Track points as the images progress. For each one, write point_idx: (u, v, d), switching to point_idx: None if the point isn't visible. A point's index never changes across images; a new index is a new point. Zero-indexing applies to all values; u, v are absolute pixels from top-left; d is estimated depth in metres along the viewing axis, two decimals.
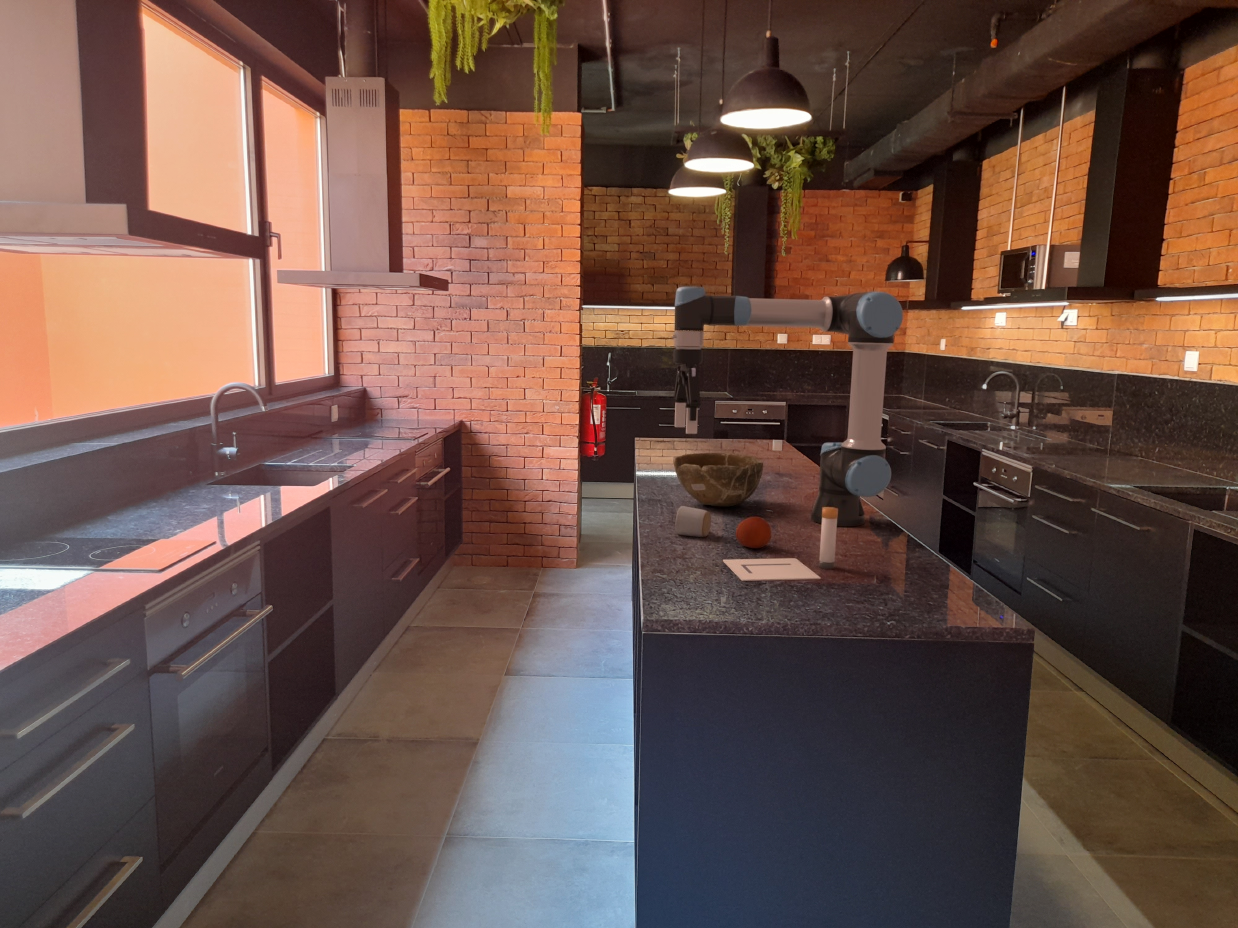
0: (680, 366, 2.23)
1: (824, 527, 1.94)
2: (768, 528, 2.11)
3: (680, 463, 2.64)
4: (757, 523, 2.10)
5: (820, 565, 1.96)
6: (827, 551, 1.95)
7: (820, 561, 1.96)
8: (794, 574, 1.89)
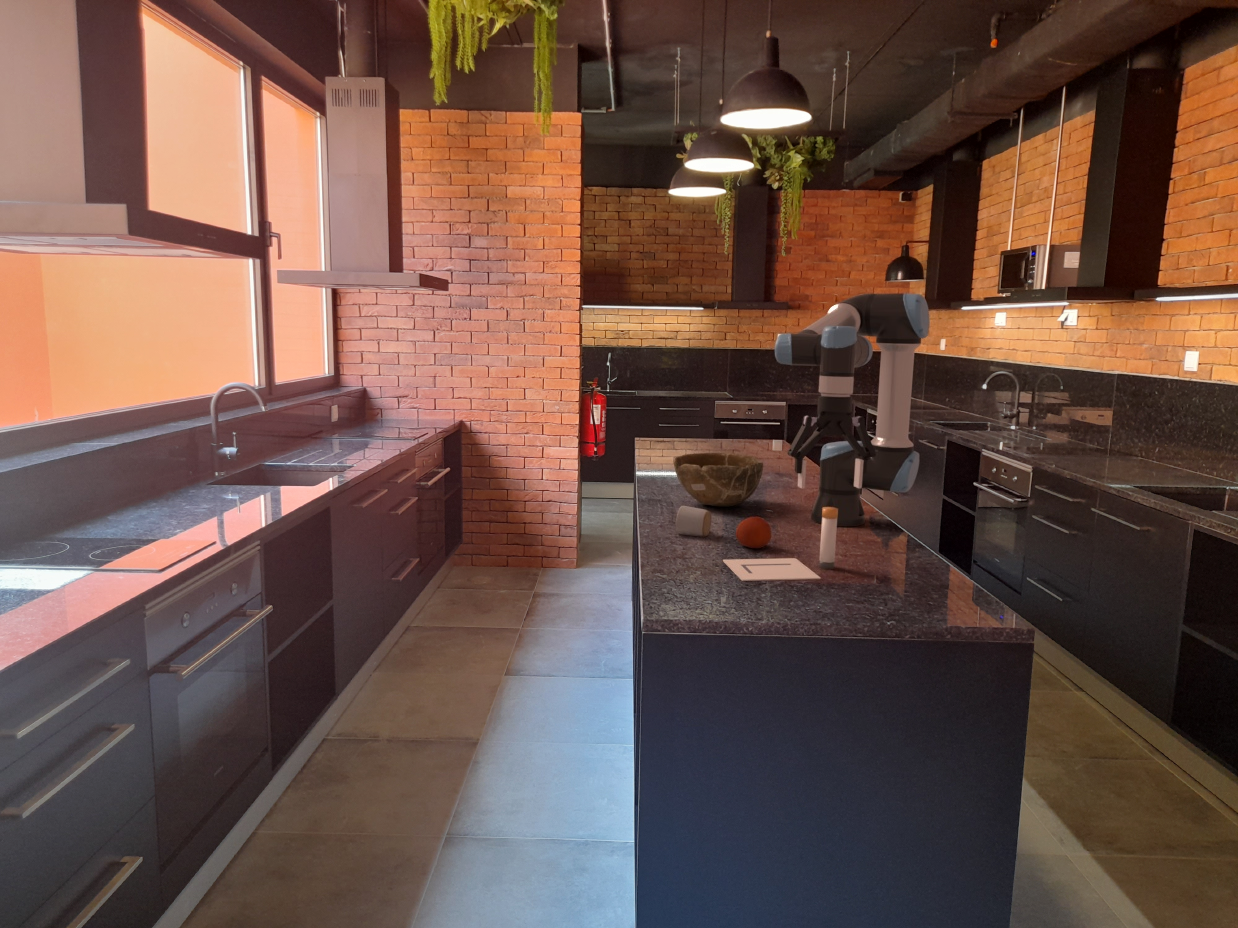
0: (857, 416, 1.93)
1: (825, 527, 1.94)
2: (768, 528, 2.11)
3: (680, 463, 2.64)
4: (757, 523, 2.10)
5: (820, 565, 1.96)
6: (827, 551, 1.95)
7: (820, 561, 1.96)
8: (794, 574, 1.89)
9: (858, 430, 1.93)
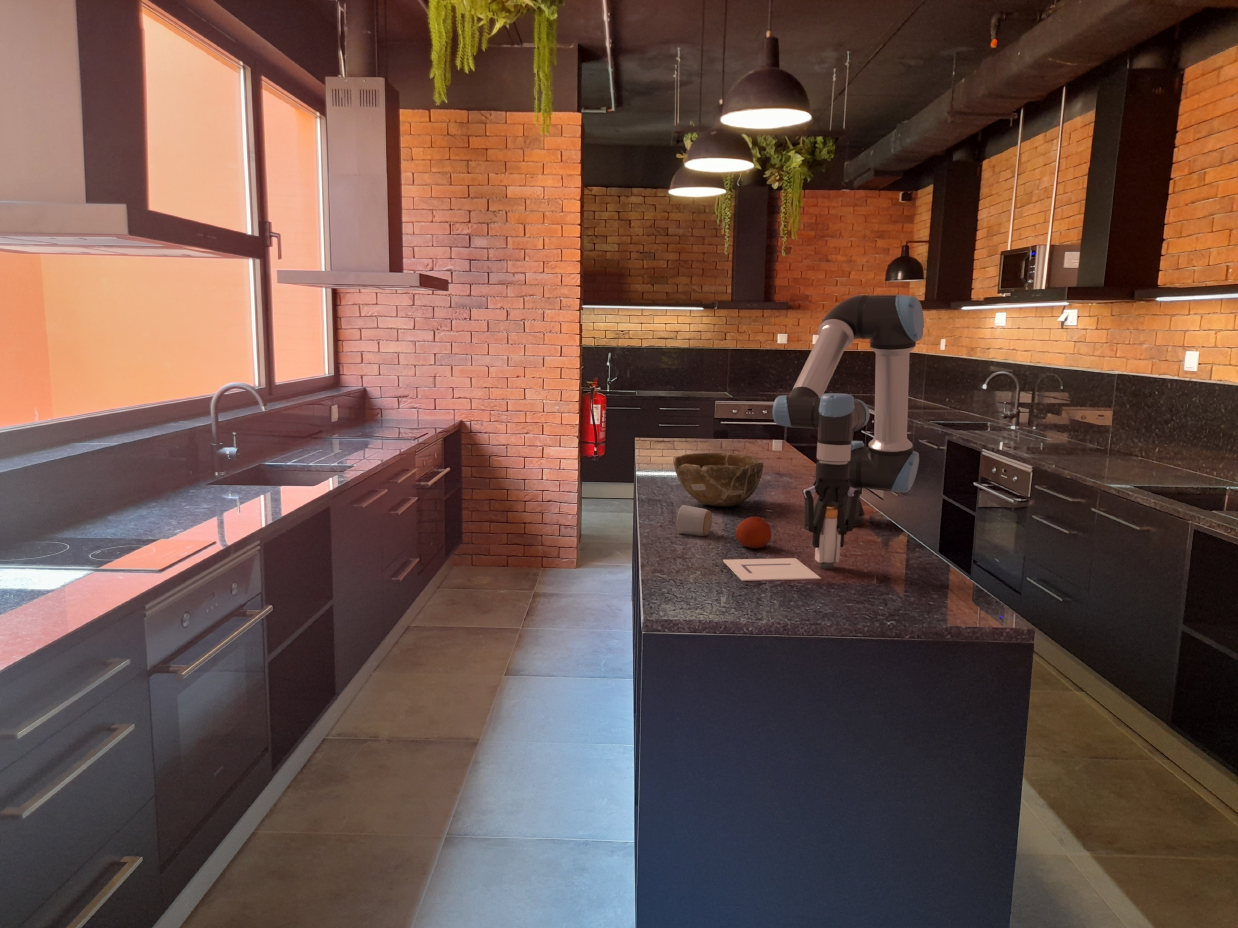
0: (854, 488, 1.95)
1: (824, 527, 1.94)
2: (768, 528, 2.11)
3: (680, 463, 2.64)
4: (757, 523, 2.10)
5: (820, 565, 1.96)
6: (827, 551, 1.95)
7: None
8: (794, 574, 1.89)
9: (849, 500, 1.95)
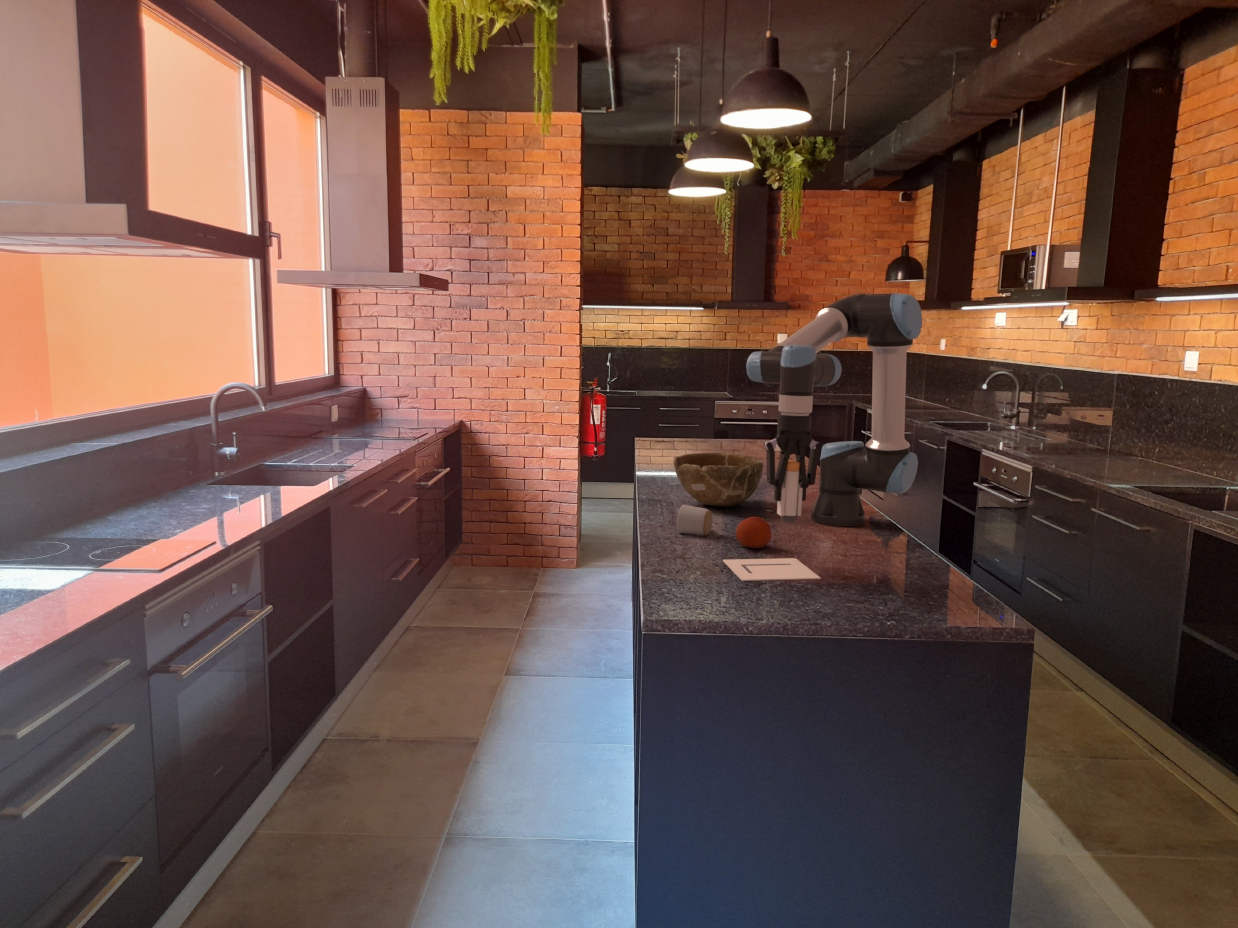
0: None
1: (786, 480, 1.93)
2: (768, 528, 2.11)
3: (680, 463, 2.64)
4: (757, 523, 2.10)
5: (782, 519, 1.95)
6: (789, 504, 1.93)
7: None
8: (794, 574, 1.89)
9: (811, 454, 1.94)
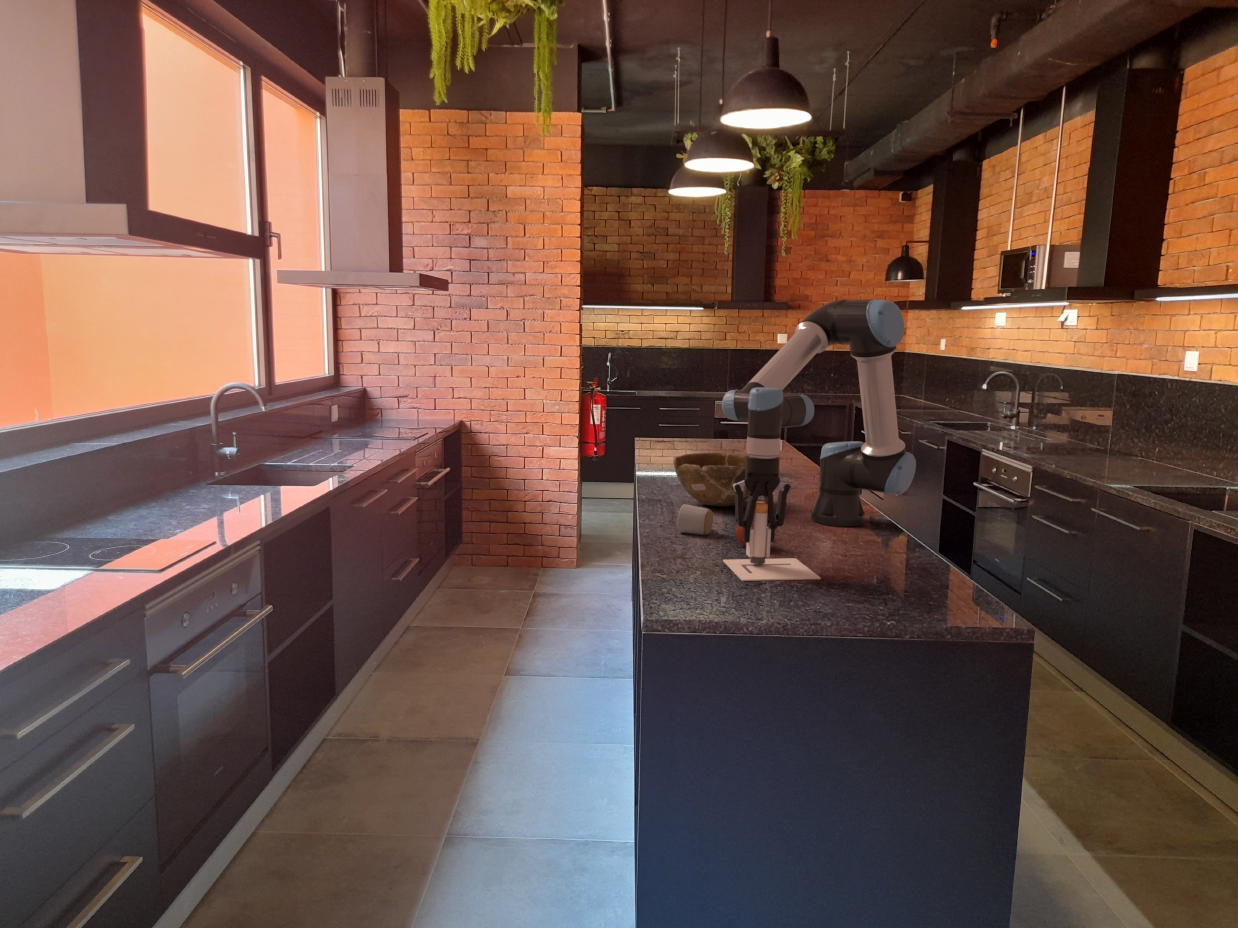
0: (784, 482, 1.95)
1: (755, 521, 1.93)
2: None
3: (680, 463, 2.64)
4: None
5: (751, 560, 1.95)
6: (757, 546, 1.94)
7: None
8: (794, 574, 1.89)
9: (780, 495, 1.94)
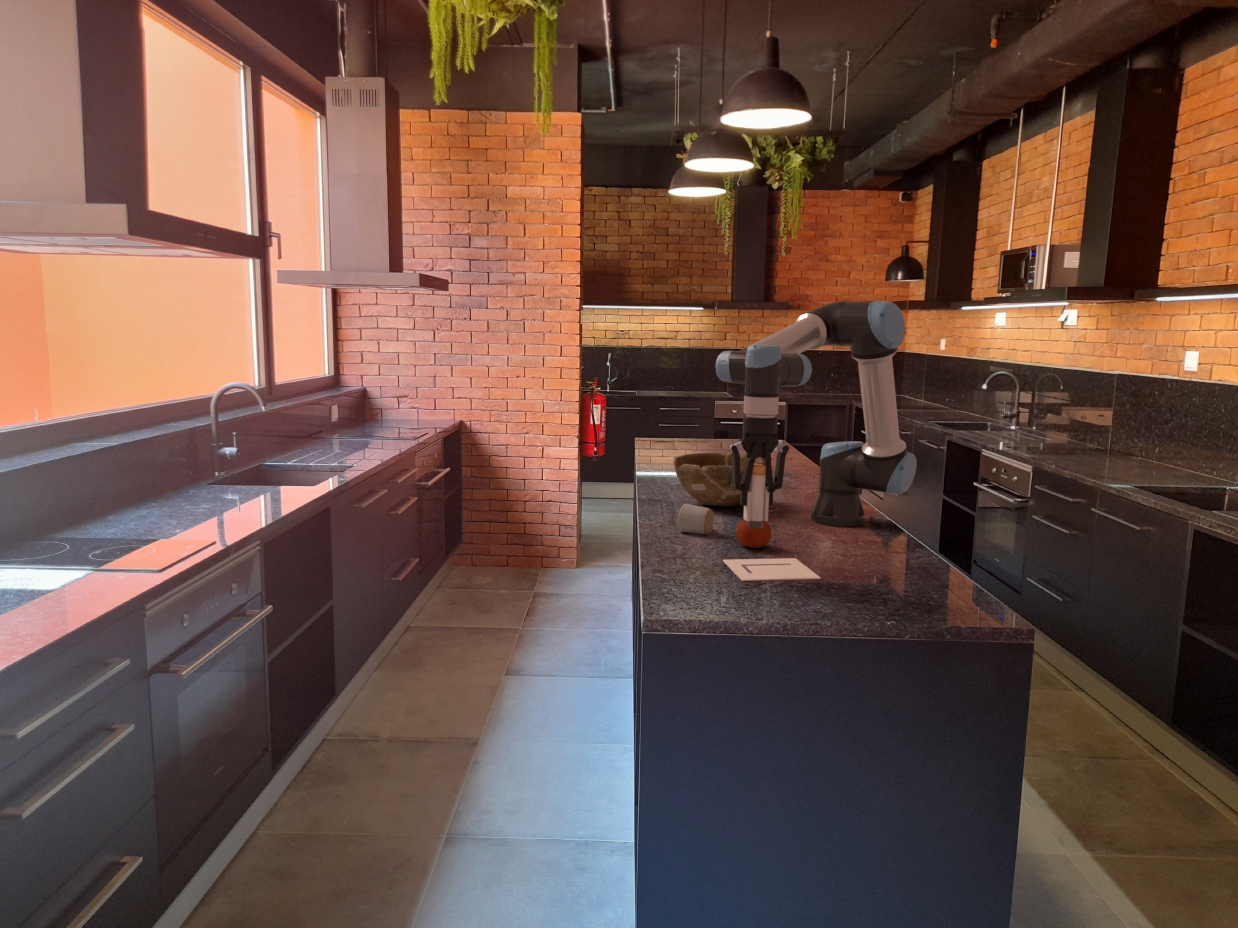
0: (783, 444, 1.88)
1: (752, 484, 1.87)
2: (768, 528, 2.11)
3: (680, 463, 2.64)
4: None
5: (748, 524, 1.89)
6: (755, 509, 1.87)
7: None
8: (794, 574, 1.89)
9: (778, 457, 1.87)
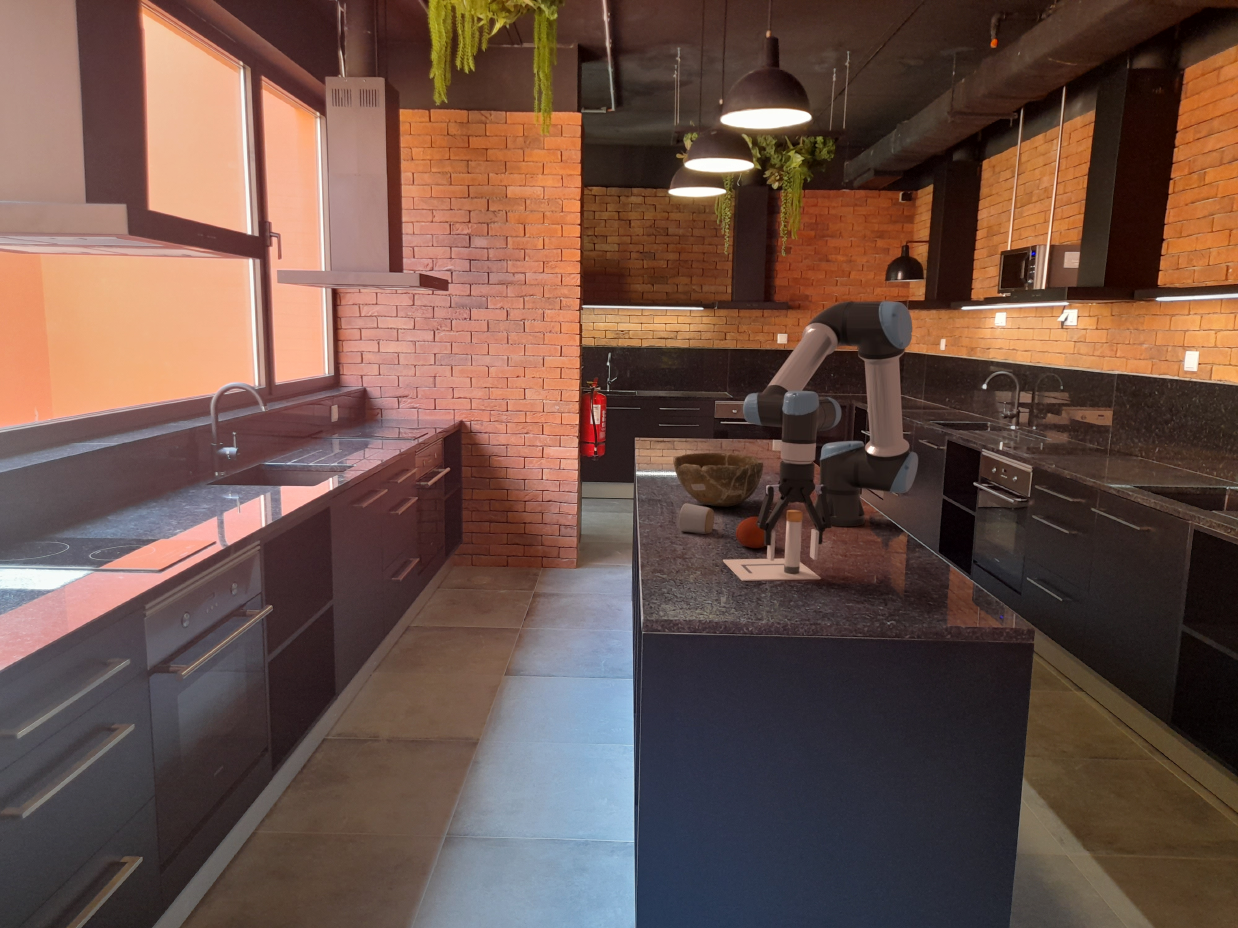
0: (820, 484, 1.90)
1: (789, 530, 1.89)
2: None
3: (680, 463, 2.64)
4: None
5: (785, 570, 1.91)
6: (792, 555, 1.89)
7: (785, 566, 1.91)
8: (794, 574, 1.89)
9: (819, 498, 1.89)
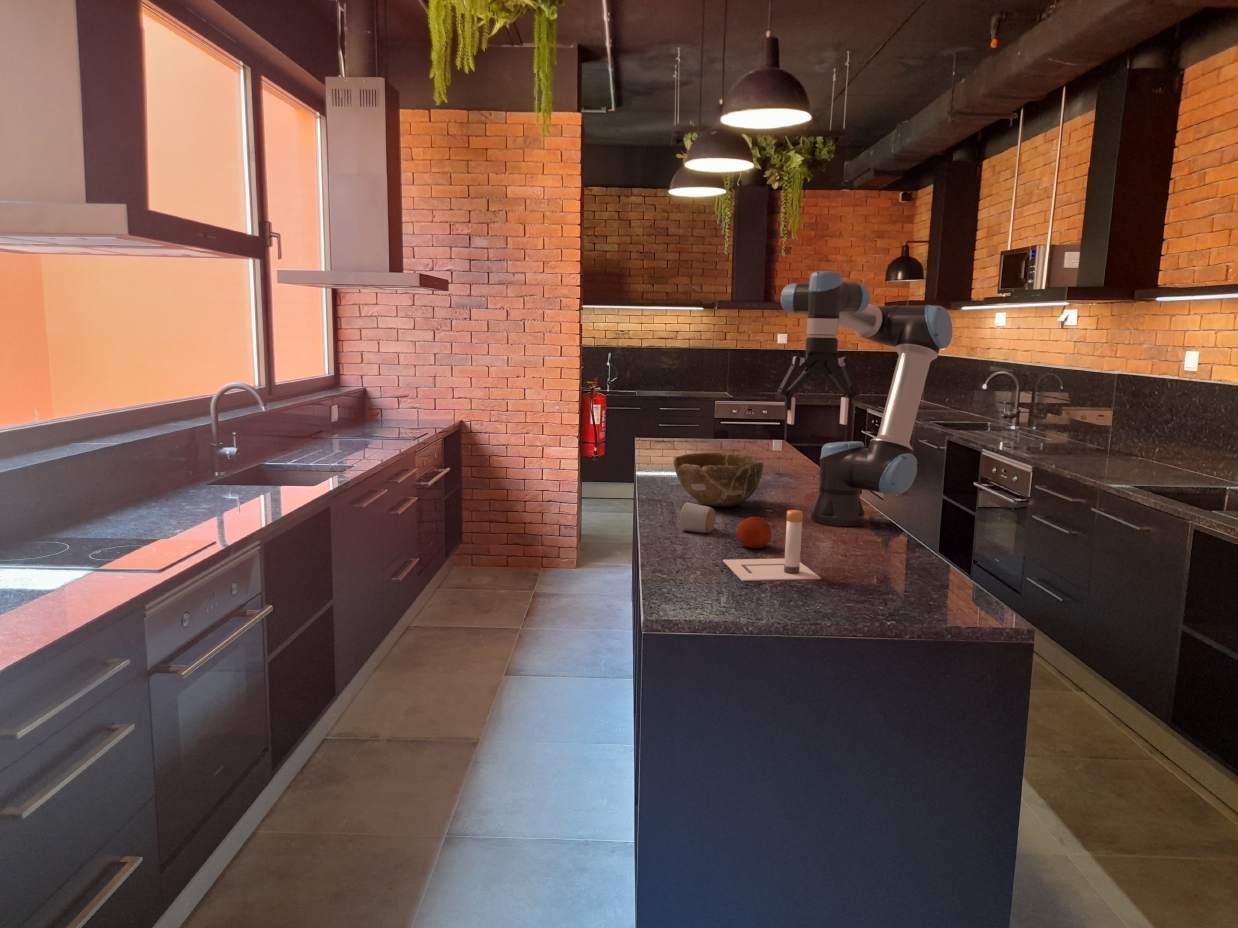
0: (842, 357, 2.06)
1: (789, 530, 1.89)
2: (768, 528, 2.11)
3: (680, 463, 2.64)
4: (757, 523, 2.10)
5: (785, 570, 1.91)
6: (792, 555, 1.89)
7: (785, 566, 1.91)
8: (794, 574, 1.89)
9: (844, 370, 2.06)
